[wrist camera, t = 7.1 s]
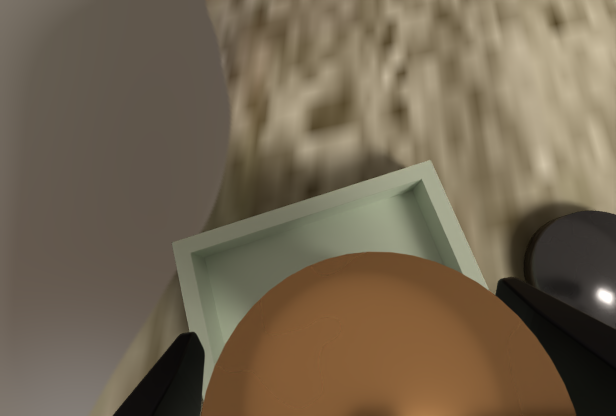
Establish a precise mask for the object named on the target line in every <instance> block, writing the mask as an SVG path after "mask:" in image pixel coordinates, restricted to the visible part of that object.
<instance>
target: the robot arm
mask: <svg viewBox="0 0 616 416" xmlns="http://www.w3.org/2000/svg"><path fill="white" fill-rule="evenodd" d="M495 296H497V297H498V298H499V299H500V300H502V301H503V302H504V303H505V304H506V305H507V306H508V307H509V308H510V309H511V310H512V311H513V312H514V313H516V314H517V315H518V316H519V318H520V319H521V320H522V321H523V322H524V323H525V325H526V326H527V327H528V328H529V329H530V330H531V332H532V333H533V334H534V335H535V336H536V338H537V339H538V341H539V342H540V343H541V345H542V346H543V348H544V349H545V351H546V352H547V354H548V355H549V357H550V358H551V360H552V362H553V363H554V365H555V367H556V369H557V371H558V373H559V375H560V377H561V378H562V380H563V382H564V384H565V387H566V389H567V392H568V394H569V397H570V399H571V402H572V404H573V407H574V409H575V412H576V415H577V416H616V329H615V328H613V327H611V326H609V325H607V324H605V323H603V322H601V321H599V320H597V319H595V318H593V317H591V316H590V315H588V314H586V313H584V312H582V311H580V310H578V309H576V308H574V307H572V306H570V305H568V304H566V303H564V302H562V301H560V300H558V299H557V298H555V297H553V296H551V295H549V294H547V293H545V292H543V291H541V290H539V289H537V288H535V287H533V286H531V285H529V284H527V283H526V282H524V281H522V280H520V279H518V278H515V277H508V278H502V279H500V280H499V281H498V284H497V290H496V295H495ZM204 363H205V351H204V348H203V346H202V344H201V342H200V340H199V338H198V336H197V334H196V333H195V332H187V333H182V334H180V335H179V336H178V337H177V338H176V340H175V341H174V342H173V343H172V344H171V346H170V347H169V348H168V349H167V351H166V352H165V353H164V354H163V355H162V357H161V358H160V359H159V360H158V361H157V363H156V364H155V365H154V366H153V367H152V369H151V370H150V371H149V372H148V374H147V375H146V376H145V377H144V378H143V380H142V381H141V382H140V383H139V384H138V386H137V387H136V388H135V389H134V390H133V392H132V393H131V394H130V395H129V396H128V398H127V399H126V400H125V401H124V403H123V404H122V405H121V406H120V407H119V409H118V410H117V411H116V412H115V413H114V415H113V416H200V411H201V401H202V388H203V375H204Z"/></svg>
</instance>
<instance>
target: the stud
mask: <svg viewBox="0 0 616 416" xmlns="http://www.w3.org/2000/svg"><path fill="white" fill-rule="evenodd" d="M524 273H525V279H526V283H527V284H529V285H531V286H533V287H535V288H537V289H539V290H541V291H543V292H545V293H547V294H549V295H551V296H553V297H555V298H557V299H558V300H560V301H562V302H564V303H566V304H568V305H570V306H572V307H574V308H576V309H578V310H580V311H582V312H584V313H586V314H588V315H590V316H591V317H593V318H595V319H597V320H599V321H601V322H603V323H605V324H607V325H609V326H611V327H613V328H615V329H616V215H615V214H611V213H607V212H601V211H581V212H576V213H572V214H569V215H566V216H563V217H560V218H557V219H555V220H552V221H550V222H548V223H547V224H545V225H544V226H542V227H541V228H540V229H539V230H538V231H537V232H536V233H535V234H534V236H533V237H532V239H531V240H530V242H529V244H528V246H527V249H526V253H525V258H524Z"/></svg>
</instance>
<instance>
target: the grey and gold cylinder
mask: <svg viewBox="0 0 616 416" xmlns="http://www.w3.org/2000/svg"><path fill="white" fill-rule="evenodd" d="M201 416H577V415H576V412H575V409H574V407H573V404H572V402H571V399H570V397H569V394H568V392H567V389H566V387H565V384H564V382H563V380H562V378H561V377H560V375H559V373H558V371H557V369H556V367H555V365H554V363H553V362H552V360H551V358H550V357H549V355H548V354H547V352H546V351H545V349H544V348H543V346H542V345H541V343H540V342H539V341H538V339H537V338H536V336H535V335H534V334H533V333H532V332H531V330H530V329H529V328H528V327H527V326H526V325H525V323H524V322H523V321H522V320H521V319H520V318H519V316H518V315H517V314H516V313H514V312H513V311H512V310H511V309H510V308H509V307H508V306H507V305H506V304H505V303H504V302H503V301H502V300H500V299H499V298H498V297H497V296H495V295H494V294H493V293H491V292H490V291H489V290H487V289H486V288H485V287H483V286H482V285H481V284H479V283H478V282H476V281H474V280H472V279H471V278H469V277H467V276H465V275H464V274H462V273H460V272H458V271H456V270H454V269H452V268H449V267H447V266H444V265H442V264H440V263H437V262H435V261H431V260H428V259H424V258H421V257H417V256H413V255H407V254H400V253H394V252H361V253H351V254H345V255H341V256H337V257H333V258H329V259H325V260H323V261H320V262H318V263H315V264H312V265H310V266H307V267H305V268H303V269H301V270H300V271H298V272H296V273H294V274H292V275H290V276H289V277H287V278H286V279H284V280H283V281H281V282H280V283H279V284H277V285H276V286H275V287H273V288H272V289H270V290H269V291H268V292H267V293H266V294H265V295H264V296H263V297H262V298H261V299H260V300H259V301H258V302H256V303H255V304H254V305H253V306H252V308H251V309H250V310H249V311H248V312H247V314H246V315H245V316H244V317H243V319H242V320H241V321H240V322H239V323H238V325H237V326H236V328H235V330H234V331H233V333H232V334H231V336H230V337H229V339H228V341H227V342H226V344H225V346H224V348H223V350H222V352H221V354H220V356H219V358H218V360H217V362H216V364H215V367H214V369H213V372H212V375H211V378H210V381H209V384H208V387H207V390H206V394H205V399H204V403H203V408H202V412H201Z"/></svg>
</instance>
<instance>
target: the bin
mask: <svg viewBox="0 0 616 416" xmlns="http://www.w3.org/2000/svg"><path fill="white" fill-rule="evenodd" d="M172 247H173V251H174V256H175V262H176V267H177V272H178V277H179V282H180V287H181V292H182V297H183V302H184V307H185V312H186V317H187V322H188V327H189V332H195V333H196V334H197V336H198V338H199V340H200V342H201V344H202V346H203V348H204V351H205V363H204V375H203V388H202V396H203V401H204V399H205V394H206V390H207V387H208V384H209V381H210V378H211V375H212V372H213V369H214V367H215V364H216V362H217V360H218V358H219V356H220V354H221V352H222V350H223V348H224V346H225V344H226V342H227V341H228V339H229V337H230V336H231V334H232V333H233V331H234V330H235V328H236V326H237V325H238V323H239V322H240V321H241V320H242V319H243V317H244V316H245V315H246V314H247V312H248V311H249V310H250V309H251V308H252V306H253V305H254V304H255V303H256V302H258V301H259V300H260V299H261V298H262V297H263V296H264V295H265V294H266V293H267V292H268V291H269V290H270V289H272V288H273V287H275V286H276V285H277V284H279V283H280V282H281V281H283V280H284V279H286V278H287V277H289V276H290V275H292V274H294V273H296V272H298V271H300V270H301V269H303V268H305V267H307V266H310V265H312V264H315V263H318V262H320V261H323V260H325V259H329V258H333V257H337V256H341V255H345V254H351V253H361V252H394V253H400V254H407V255H413V256H417V257H421V258H424V259H428V260H431V261H435V262H437V263H440V264H442V265H444V266H447V267H449V268H452V269H454V270H456V271H458V272H460V273H462V274H464V275H465V276H467V277H469V278H471V279H472V280H474V281H476V282H478V283H479V284H481V285H482V286H483V287H485V288H486V289H487V290H489V289H488V287H487V284H486V282H485V280H484V278H483V276H482V273H481V271H480V269H479V267H478V264H477V262H476V260H475V258H474V256H473V253H472V251H471V249H470V247H469V244H468V242H467V240H466V238H465V235H464V233H463V231H462V229H461V227H460V224H459V222H458V220H457V218H456V215H455V213H454V211H453V209H452V207H451V204H450V202H449V200H448V198H447V195H446V193H445V191H444V189H443V187H442V184H441V182H440V180H439V178H438V175H437V173H436V171H435V169H434V166H433V164H432V162H431V160H429V161H426V162H422V163H419V164H416V165H413V166H410V167H407V168H404V169H401V170H397V171H394V172H391V173H388V174H385V175H382V176H379V177H375V178H372V179H369V180H366V181H363V182H360V183H357V184H353V185H350V186H347V187H344V188H341V189H338V190H335V191H331V192H328V193H325V194H322V195H319V196H316V197H313V198H310V199H306V200H303V201H300V202H297V203H294V204H291V205H288V206H284V207H281V208H278V209H275V210H272V211H269V212H266V213H262V214H259V215H256V216H253V217H250V218H247V219H244V220H240V221H237V222H234V223H231V224H228V225H225V226H222V227H219V228H215V229H212V230H209V231H206V232H203V233H200V234H197V235H193V236H191V237H187V238H184V239H181V240H178V241H175V242H172Z"/></svg>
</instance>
